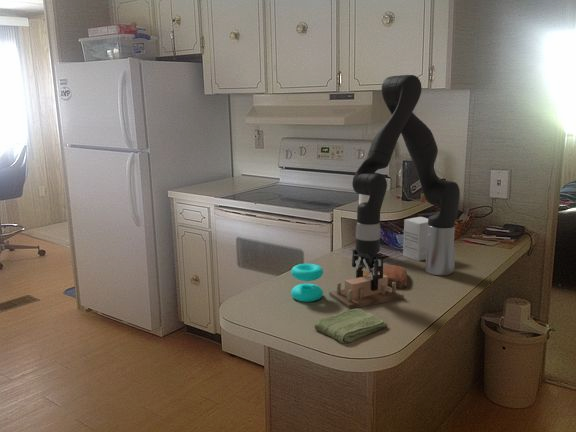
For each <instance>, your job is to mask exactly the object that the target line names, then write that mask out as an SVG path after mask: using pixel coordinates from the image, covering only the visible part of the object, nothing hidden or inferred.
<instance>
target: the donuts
mask: <svg viewBox="0 0 576 432" xmlns="http://www.w3.org/2000/svg"><path fill="white" fill-rule="evenodd" d="M290 271H291V276H292V277H293V278H294V279H297V281H301V282H302V281H303V282H307V283H299V284H297V285H295V286H293V288H292V289H291V292H290V293H291V296H292V298H293V299H294V300H297V301H299V302H303V303H304V302H305V303H306V302H307V303H308V302H309V303H310V302H315V301H318V300H320V299H321V298H322V297H323V294H324V292H323V289H322V288H321V287H320V286H319V285H318V284H313V283H309V282H313V281H316V280H319V279H320V278H322V276H323V274H324V269H323V268H322V267H321V266H320V265H318V264H315V263H299V264H296V265H294V266H293V267H292V268H291V270H290Z"/></svg>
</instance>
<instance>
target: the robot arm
mask: <svg viewBox="0 0 576 432" xmlns="http://www.w3.org/2000/svg"><path fill="white" fill-rule="evenodd" d="M422 88H423V87H422V82H421V80H420V78H419V77H418V76H417V75H414V74H403V75H391V76H387V77H386V78H384V80H383V82H382V85H381V94H382V98H383V101H384V103H385V105H386V107H387V108H388V110H389V112H390V114H391V116H390V117H389V118H388V120H387V121H386V122H385V123H384V124H383V125H382V126H381V128H379V130H378V131H377V132H376V134H375V135H374V137H373V139H372V141H371V144H370V147H369V150H368V153H367V155H366V157H365V159H364V160H363V161H362V163H361V164H360V166H359V167H358V168H357V170H356V171H355V173H354V176H353V179H352V183H351V184H352V189H353V191H354V192H355V193H356V194H358V195H359V194H362V195H369V196H370V197H369V200H368V202H364V203H360V204H359V203H358V205H357V210H356V214H357V215H356V226H355V249H352V257H351V267H352V268H354V270H355V278H359V277H363V272H364V269H365V270H367V272H368V273H369V274H370V277H371V290H372V291H376V290H377V289H378V279H382V278H383V266H384V260H383V259H378V256H377V254H378V253H380V251H381V223H380V222H381V210H382V206H383V203H384V200H385V196H386V192H387V189H388V182H387V179H386V177H385V175H383V174H382V173H378V172H377V171H378V170H381V169H386V168H387V167H389V164H390V163H391V162H390V161H391V159H392V156H393V153H394V151H395V147H396V145H397V142H398V140H399V138H400V136H402V138H403V141H404V144H405V146H406V149H407V151H408V153H409V156H410V158H411V160H412V162H413V165H414V168H415V170H416V172H417V176H418V179H419V182H420V185H421V189H422V192H423V196H424V198H425V200H426V202H428V204H430V205H433V206H435V207H436V206H437V207H439V209H440V210H439V213H437V214H433V215H430V216H428V218H427V219H428V233H427V251H426V259H425V269H424V270H425V272H426V273H427V274H430V275H436V276H448V275H451V274H452V273H454V272H455V263H456V251H457V250H456V246H455V245H454V244H455V243H454V241H455V230H456V229H455V228H456V222H457V218H458V213H459V206H460V196H461V191H460V190H461V189H460V186H459V184H458V183H457V182H455V181H450V180H445V179H440V178H439V177H438V175H437V172H436V170H435V163H436V160H437V156H438V151H439V148H438V145H437V141H436V140H435V137H434V134H433V132H432V131H431V129H430V127H429V126H427V124H426V123H424V121H422V120H421V119H419V117H418V116H417V115H416V114H415V113H414V110H415V108H416V106H417V105H418V102H419V100H420V97H421V95H422ZM373 268H374V269H373ZM379 271H380V275H379V273H378V272H379ZM373 272H374V275H373Z"/></svg>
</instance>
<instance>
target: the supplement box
mask: <svg viewBox="0 0 576 432" xmlns="http://www.w3.org/2000/svg"><path fill="white" fill-rule="evenodd" d="M403 220H404V221H403V222H404V223H403V227H404V228H403V246H402V256H403V257H405V258H409V259H412V260H415V261H417V262H420V261H424V260H425V261H426V251H427V233H428V218H427V217H424V216H417V217H411V218H406V219H403Z"/></svg>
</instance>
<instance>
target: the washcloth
mask: <svg viewBox="0 0 576 432" xmlns="http://www.w3.org/2000/svg"><path fill="white" fill-rule="evenodd" d="M386 327H388V323H386V322H385V321H384V320H382V319H381V318H378V317H376V316H375V315H373V314H372V313H371V312H366V311H364V310H363V309H362V308H351V309H347V310H344V311H342V312H338V313H337V314H334V315H331V316H326V317H324V318H322V319H319V320H318V321H317V322H315V324H314V329H315V330H316V331H318V332H320V333H323V334H324V335H325V336H329V337H331V338H333V340H335V341H337V342H339V343H341V344H349V343H351V342H354V341H356V340H358V339H362V338H363V337H366V336H367V335H368V336H369V334H373V333H375V332H377V331H378V330H383V329H384V328H386Z"/></svg>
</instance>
